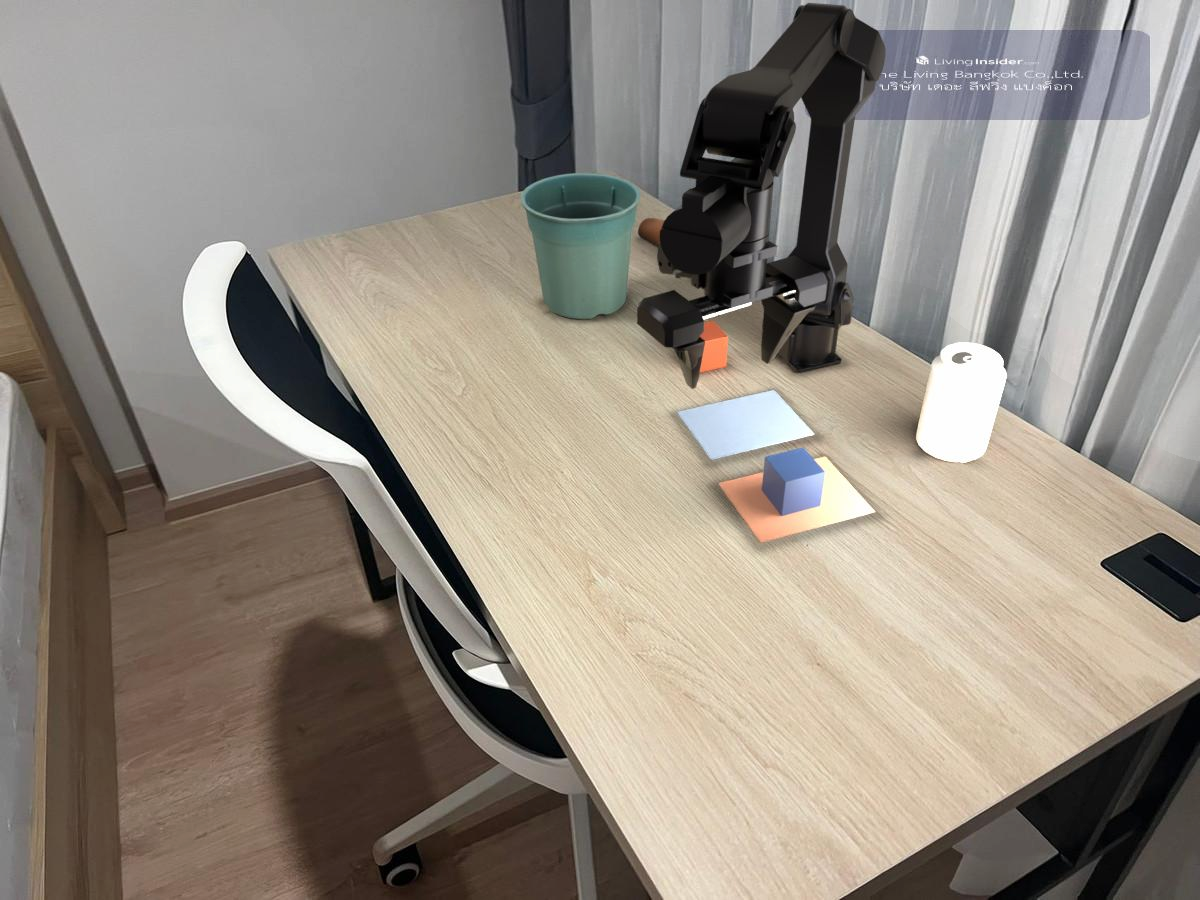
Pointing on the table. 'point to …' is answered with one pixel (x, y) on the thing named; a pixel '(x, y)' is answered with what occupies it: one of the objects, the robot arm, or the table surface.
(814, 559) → the table surface
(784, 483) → the blue block
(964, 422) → the can
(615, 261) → the flower pot
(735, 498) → the terracotta mat
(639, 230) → the sunglasses case
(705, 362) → the terracotta block
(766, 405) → the blue mat
